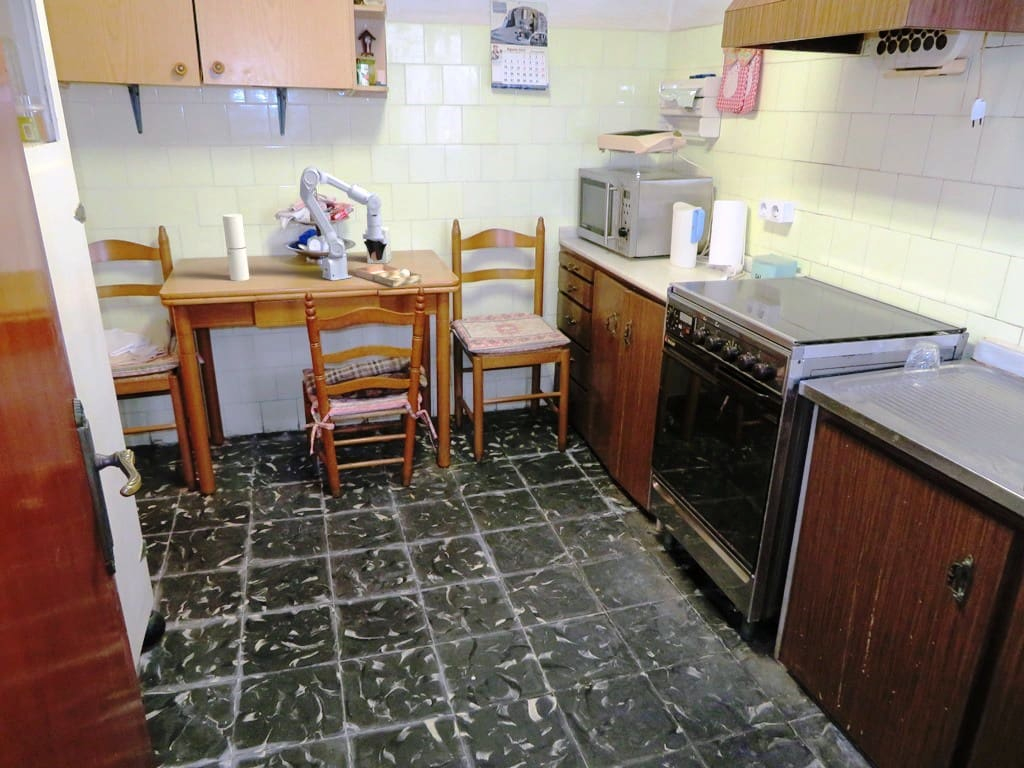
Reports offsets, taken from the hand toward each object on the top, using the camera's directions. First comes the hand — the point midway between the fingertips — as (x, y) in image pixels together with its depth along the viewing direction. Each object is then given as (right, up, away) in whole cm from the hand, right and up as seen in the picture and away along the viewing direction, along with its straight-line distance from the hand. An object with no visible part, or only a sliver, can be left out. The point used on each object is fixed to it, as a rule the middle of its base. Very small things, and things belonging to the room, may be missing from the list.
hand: (376, 259), depth 296 cm
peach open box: (+1, -6, +3) cm, 7 cm away
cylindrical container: (-53, -9, -6) cm, 54 cm away
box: (+10, -10, -5) cm, 15 cm away
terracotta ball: (0, +1, 0) cm, 1 cm away
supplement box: (-4, +3, +28) cm, 29 cm away
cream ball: (+12, -7, -4) cm, 15 cm away
